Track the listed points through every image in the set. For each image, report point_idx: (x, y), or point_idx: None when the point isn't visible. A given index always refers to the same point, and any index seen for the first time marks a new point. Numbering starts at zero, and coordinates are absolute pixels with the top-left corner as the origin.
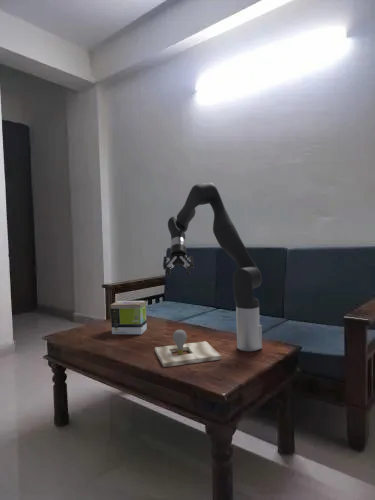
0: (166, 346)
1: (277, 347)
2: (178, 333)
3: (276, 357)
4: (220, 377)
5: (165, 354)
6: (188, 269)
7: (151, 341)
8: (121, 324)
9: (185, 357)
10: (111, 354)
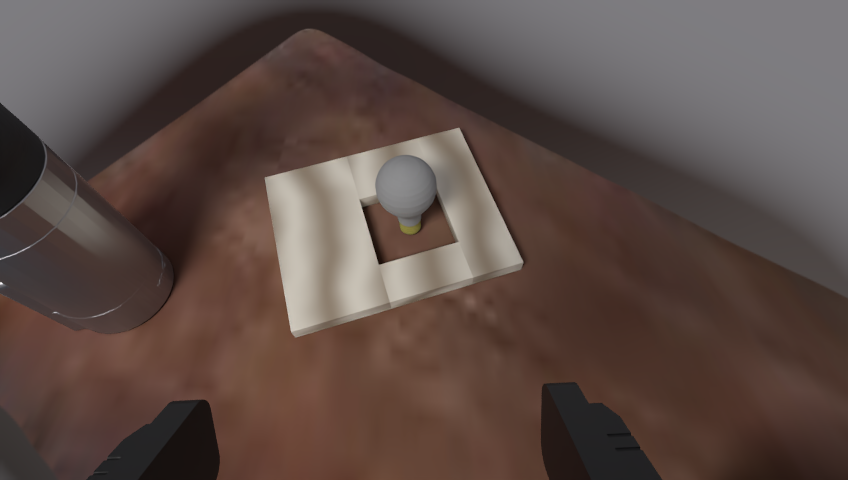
0: (474, 272)
1: None
2: (408, 155)
3: None
4: (298, 84)
5: (463, 190)
6: (123, 458)
7: None
8: None
9: None
10: (694, 241)
